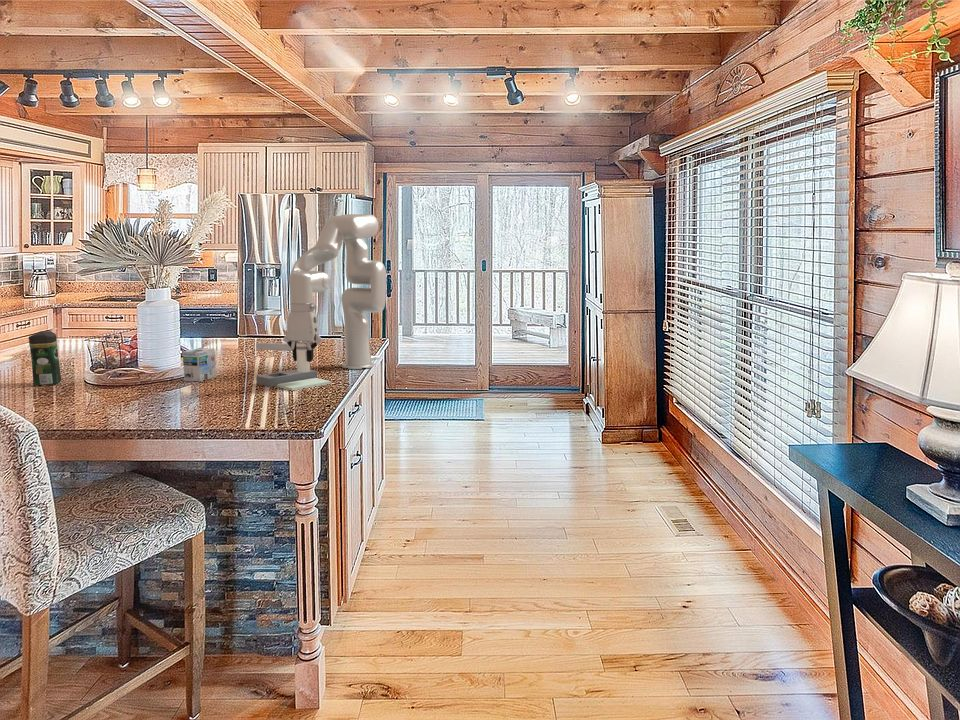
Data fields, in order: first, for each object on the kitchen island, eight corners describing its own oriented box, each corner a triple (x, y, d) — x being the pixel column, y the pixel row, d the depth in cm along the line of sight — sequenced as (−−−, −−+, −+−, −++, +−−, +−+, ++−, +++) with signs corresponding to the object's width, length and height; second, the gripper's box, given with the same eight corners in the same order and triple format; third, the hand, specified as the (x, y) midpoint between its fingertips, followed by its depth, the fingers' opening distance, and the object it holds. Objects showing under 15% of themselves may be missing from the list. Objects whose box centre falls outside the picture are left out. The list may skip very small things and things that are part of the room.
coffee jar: (38, 381, 256) (33, 330, 252) (63, 380, 258) (58, 329, 255) (30, 387, 246) (24, 333, 243) (56, 386, 249) (51, 333, 245)
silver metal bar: (308, 350, 263) (307, 344, 263) (304, 351, 261) (304, 345, 260) (259, 348, 267) (259, 342, 267) (255, 349, 264) (255, 343, 264)
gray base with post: (304, 376, 269) (303, 349, 267) (317, 379, 264) (316, 351, 262) (256, 384, 254) (255, 355, 252) (269, 387, 249) (267, 358, 247)
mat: (315, 380, 261) (315, 377, 261) (331, 384, 255) (330, 381, 255) (277, 387, 249) (277, 384, 249) (292, 391, 243) (292, 388, 243)
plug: (305, 369, 254) (304, 341, 252) (312, 371, 251) (311, 342, 249) (294, 371, 251) (293, 342, 249) (301, 372, 248) (300, 344, 246)
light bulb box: (200, 382, 257) (198, 352, 255) (183, 381, 258) (181, 351, 256) (217, 376, 267) (215, 348, 265) (200, 375, 268) (198, 347, 267)
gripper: (328, 308, 249) (330, 360, 252) (284, 306, 253) (285, 358, 255) (319, 310, 242) (321, 363, 245) (273, 308, 245) (275, 361, 248)
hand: (303, 360), depth 250 cm, fingers closed on plug, 4 cm apart
